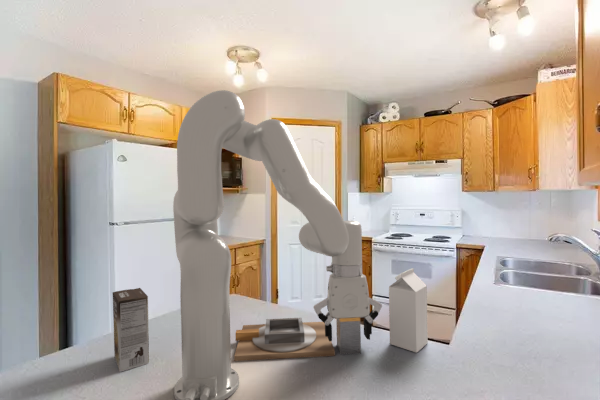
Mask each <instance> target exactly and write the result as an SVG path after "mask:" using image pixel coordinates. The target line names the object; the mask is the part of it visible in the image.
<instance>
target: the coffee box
mask: <svg viewBox="0 0 600 400" xmlns="http://www.w3.org/2000/svg"><path fill="white" fill-rule="evenodd" d="M112 313H113V314H112V315H113V316H112V317H113V345H114V346H113V348H114V351H113V352H114V360H115V362H116V364H117V365H116V366H117V367H118V371H119V373H122V372H124V371H125V372H126V371H127V370H132V369H135V368H138V367H141V366H145V365H148V364H149V363H150V352H149V351H150V350H149V349H150V348H149V345H150V341H149V338H150V337H149V335H150V334H149V333H150V332H149V331H150V330H149V329H150V328H149V296H148V295H147V294H146V293H145V292H144V290H143V289H142V288H141V287H136V288H133V289H124V290H117V291H113V292H112Z"/></svg>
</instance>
